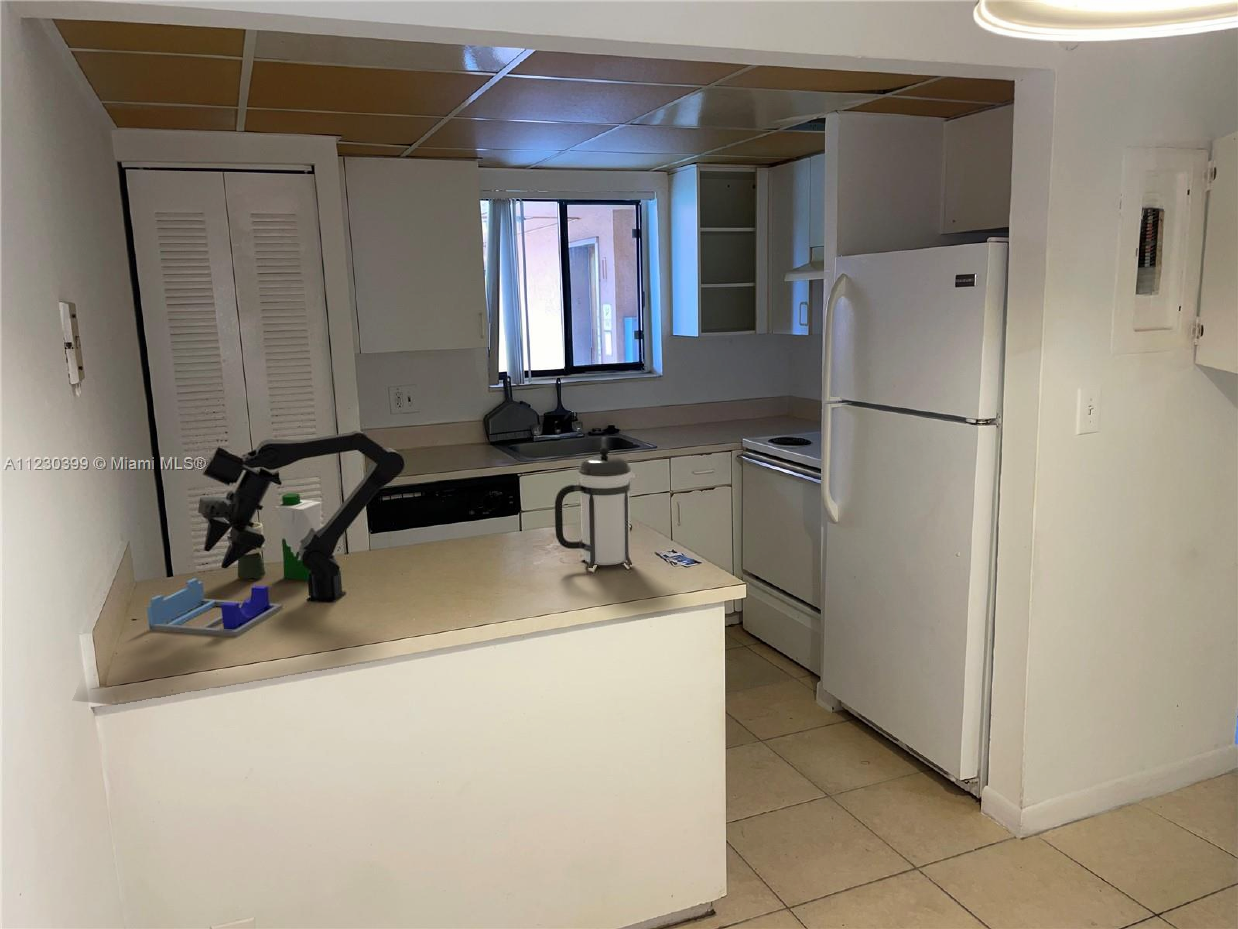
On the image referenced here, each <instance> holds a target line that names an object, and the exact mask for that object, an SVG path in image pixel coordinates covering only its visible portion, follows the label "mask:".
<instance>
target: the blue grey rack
mask: <svg viewBox="0 0 1238 929" xmlns="http://www.w3.org/2000/svg"><path fill="white" fill-rule="evenodd" d="M204 592H205V591H204V584H203V581H199V579H198V578H191V579H190V580H187V581H186V587H185V588H183V589H180V590H178V591H177V592H175V593H173V594H171V595H168V596H166V597H165V598H164V595H163V594H162V595H159V594H158V595H156V596H154V597H152V598H150V605H148V606H147V605H146V612H147V619H148V620H147V621H148V627H149V630H150V631H160V630H166V631H165V632H173V633H174V632H177V633H186V634H199V635H200V634H202V635H213V636H214V635H215V636H227V637H239V636H240V635H242V634H244V633H245V632H247V631H249V630H250V629H252V628H253V627H255V626H256V625H259V624H261V623H262V622H263V621H265V620H267V619H268V618H270V617H271V616H274V615H275V614H277V613H278V612H280V611H282V610H283V609H284V608H283V604H281V603H269V604H270V609H269V610H268V611H266V612H264V613H263V614H261V615H259V616H258V617H256V618H254V619H253V620H251V621H249V622H247V623H246V624H244V625H242V626H241V627H239V628H237V629H236V630H232V629H224V628H215V627H217V626H219V625H221V624H223V619H222V615H219V617H217V618H215V619H213V620H211V621H209V622H207V623H206V624H204V625H202V626H192V625H191V626H190V625H182V623H183V624H185V623H187V622H188V621H190V620H192V619H194V618H196V617H198V616H199V615H201V614H203V613H204V611H205V612H206V610H207V609H209V610H210V608H211V609H213V608H214V607H217V606H218V607H221V604H223V603H225V602H231V603H239V608H241V606H242V604H243V602H244V601H242V600H241V601H240V600H225V599H223V600H222V599H213V598H212V599H210V598H209V599H208V598H205V593H204ZM202 604H203V605H202ZM197 606H199V607H197ZM213 606H214V607H213ZM196 607H197V608H196ZM194 608H195V609H194ZM191 609H193V610H191ZM189 610H191V611H189ZM188 611H189V612H188ZM207 611H208V610H207ZM184 613H185V614H184ZM200 613H201V614H200ZM182 614H183V615H182ZM178 616H179V617H178ZM195 616H196V617H195ZM177 617H178V618H177ZM175 618H176V619H175ZM172 619H174V620H172ZM189 619H190V620H189ZM171 620H172V621H171ZM169 621H170V623H169ZM167 622H168V623H167ZM164 623H166V624H164ZM180 624H181V625H180ZM213 627H214V628H213Z"/></svg>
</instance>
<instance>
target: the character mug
mask: <svg viewBox="0 0 1238 929" xmlns="http://www.w3.org/2000/svg"><path fill="white" fill-rule="evenodd" d="M253 523H254V525H253V527H250V528H253V529H257V530H258V531H259V532H260V533H261V534H262V535H263V536H264V527H263V524H262V523H261V522H253ZM247 527H249V526H247ZM231 529H232V528H230V530H231ZM263 550H265V542H264V543H263V545H262V547H261V548H257V549H256V550H254V549H253V550H251V551H250V552H248V553H247V554H245V555H244V556H242V557H241V558H239V559H238V560H237V578H238V579H251V580H254V578H255V579H257V578H261V577H263V576H265V575H266V572H265V571H266V570H265V565H264V562H263V557H262V554H261V552H262V551H263Z"/></svg>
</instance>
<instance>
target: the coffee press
mask: <svg viewBox="0 0 1238 929" xmlns="http://www.w3.org/2000/svg"><path fill="white" fill-rule="evenodd" d="M609 452H610V451H609V449H608V447H606V446H603V447H600V450H599V454H600V455H594V456H590V457H587V458H585V459H584V460H583V461H582V462H581V463H580V466H579V467H578V473H579V477H580V478H579V480H580V481H579V483H578V484H569V485H565V486H564V487H562V488H560V489H559V491H558V492H557V494H556V497H555V500H554V525H555V526H554V527H555V529H554V531H555V538H556V540H557V542H558V543H559V544H560V545H561V547H563V548H566V549H571V550H576V549H578V550H579V549H580V550H581V555H580V556H579V558H580V557H581V556H583V558H584V560H585V561H584V562H586V563H588V566H587V569H588V568H593V566H594V565H597V567H599V566H612V565H618V564H619V565H623V564H624V563H627V565H628V566H630V565H632V564H633V562H632V561H631V559H630V554H631V550H630V549H631V541H630V540H631V537H630V536H631V534H630V532H631V530H630V528H631V527H630V523H631V522H630V521H631V520H630V491H631V482H630V479H631V478H636V475H635V473H634V472H633V471H632V470H631V466H630V465H629V463H628V462H627V460H626V459H624V458H623V457H620V456H616V455H608V454H609ZM574 492H575V493H576V492H580V519H581V520H580V522H581V523H580V525H581V526H580V527H581V528H580V529H581V538H580V540H578V541H569V540H568V539H566V538H565V537H564V523H563V518H564V517H563V502H564V499H565V497H566V496H567V495H568V494H571V493H574ZM626 561H627V562H626ZM598 565H599V566H598Z"/></svg>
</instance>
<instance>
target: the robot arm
mask: <svg viewBox="0 0 1238 929" xmlns="http://www.w3.org/2000/svg"><path fill="white" fill-rule="evenodd" d="M352 451H358V452H360V453H361V454H362V455H363V456H365V457H366V458H368V459H369V460H370V463H369V464H368V467H367V469H366V471H365V475H364V476H363V477H362V479H361V480H360V482H359V483H358V484H357V485H356V486H355V488H354V490H352V492H351V493H350V494H349V496H348V497H347V498H346V499H345V500H344V501H343V503H342V504H341V505H340V506H339V508H338V509H337V510H336V512H335V513H333V515H332V516H331V518H330V519H329V520H328V521H327V522H326V524H325V525H323V526H321V529H319V530H318V531H315V530H314V529H313V528H311V529H310V531H309V533H308V534H307V536H306V537H305V538H304V539H302V540H301V541H300V542H301V546H300V548H299V555H300V558H301V561H302V563H303V565H304V566H305V567H306V568H307V569H309V570H312V571H311V572H309V578H308V579H307V580H306V581H307V590H308V596H309V597H307V598H306V602H313V603H327V604H328V603H329V604H331V603H335V602H336V601H338V600H339V599H340V598H342V597H344V596H345V595H346V594H347V591H346V590H345V591H344V590H343V585H342V570H340V568H341V567H340V565H339V562H338V561H337V559H336V557H335V555H333V554H334V552H335V550H336V548H337V545H338V542H339V540H340V539H341V537H342V536H343V535H344V534H345V532H346V531H347V530H348V529H349V527H351V524H352V523H353V522H354V521H356V519H357V517H359V515H360V513H362V511H363V510H364V508H365V507H366V506H367V505H368V504H369V502H370V501H371V500H372V499H373V498H374V496H375V495H376V494H377V493H378V491H379V490H381V488H383V487H385V486H386V485H388V484H389V483H392V481H393V480H395V478H397V477H399V475H400V474H402V473H403V471H404V469H405V460H404V457H403V456H402V455H401V454H400V453H399V452H398V451H396V450H395V449H394V448H391V447H383V446H381V445H380V444H379V443H377V442H375V441H374V440H373V439H371V438H369V437H368V436H367V435H366V434H365V432H362V431H360V430H352V431H351V432H346V433H344V432H343V433H339V434H333V435H332V434H331V435H326V436H321V437H312V438H306V439H301V440H296V439H295V440H294V439H285V438H284V439H281V438H280V439H277V438H276V439H273V438H270V439H269V438H268V439H265V440H262V441H260V442H259V443H258V445H257V446H256V448H255V449H253V450H251V451H249V452H247V453H245V454H242V455H241V456H240V455H238V454H236V453H234V452H231V451H229V450H228V449H226V448H225V447H222V446H220V445H218V446H217V447H216V449H215V451H214V452H213V454H212V455H211V457H209V458H208V461H207V462H206V464H205V466H204V468H203V470H202V476H205V477H207V478H209V479H211V480H213V481H216V482H219V483H221V484H224V485H226V486H230V484H232V485H233V484H236V483H237V482H238V481H239V479H240V478H241V477H242V478H241V479H240V481H239V483H238V484H237V487H236V488H235V491H233V490H230V491H228V492H227V494H226V496H201V497H199V502H198V511H197V513H198V514H201V516H202V518H204V519H205V520H206V522H207V531H206V535H205V541H204V547H203V551H205V552H210V551H211V550H212V549H213V548H214V547H215V546H216V545H217V543H219V542H220V540H221V539H222V538H223V537H224V536H225V534H226V533H228V532H229V535H227V536H226V538H227V540H228V541H227V542H228V547H227V550H226V552H225V554H224V556H223V559H222V563H221V565H220V567H221V568H222V569H225V570H226V569H227V568H229V567H230V566H232V565H233V564H234V563H235V562H238V559H239V558H241V557H242V556H244V555H245V554H247V553H248V552H250V551H251V550H253V549H254V550H256V549H257V548H261V547H262V545H263V543H264V544H265V541H266V539H265V536H264V534H263V535H262V534H261V533H260V532H259V531H258V530H257V529H253V528H250V527H253V525H254V523H255V522H254V521H252V520H253V518H254V516H255V514H256V512H257V511H262V509H263V508H264V506H263V505H262V504H261V503H262V502H263V499H264V497H265V496H266V493H267V491H268V489H270V485H272V483H273V484H276V485H278V486H281V485H282V484H283V482H282V480H281V477H280V472H279V470H278V469H280V468H284V467H286V466H289V465H291V464H294V463H296V462H298V461H301V460H304V459H309V458H316V457H323V456H328V455H333V454H339V453H346V452H352ZM255 468H256V469H255ZM257 468H258V469H257ZM270 470H271V471H272V472H271V471H270ZM273 470H275V471H274V472H273ZM243 471H244V473H243ZM247 526H249V527H247ZM231 528H232V529H231ZM229 530H230V531H229Z"/></svg>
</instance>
